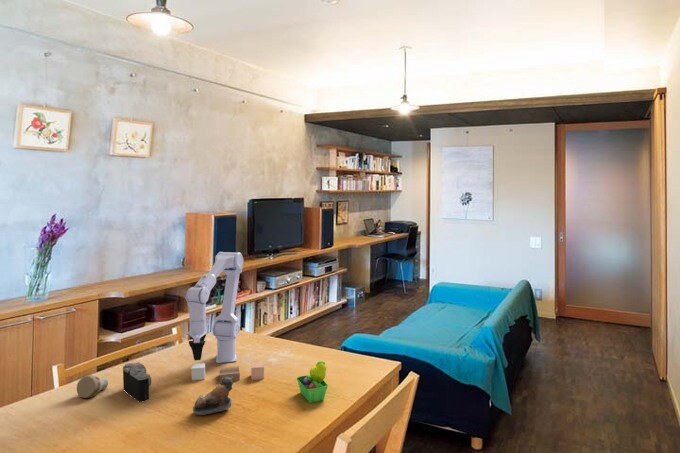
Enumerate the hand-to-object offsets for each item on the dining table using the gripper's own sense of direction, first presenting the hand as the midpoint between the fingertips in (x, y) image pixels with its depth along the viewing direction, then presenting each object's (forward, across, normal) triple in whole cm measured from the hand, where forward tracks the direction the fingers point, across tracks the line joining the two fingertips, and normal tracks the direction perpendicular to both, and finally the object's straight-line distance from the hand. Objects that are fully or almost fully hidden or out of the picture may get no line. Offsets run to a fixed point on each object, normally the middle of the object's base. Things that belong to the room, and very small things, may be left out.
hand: (198, 356), depth 162 cm
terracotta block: (+8, +5, +21) cm, 23 cm away
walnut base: (+8, +3, +11) cm, 14 cm away
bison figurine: (+8, +29, +6) cm, 31 cm away
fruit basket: (+8, +26, +38) cm, 47 cm away
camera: (+8, +9, -18) cm, 22 cm away
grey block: (+8, 0, 0) cm, 8 cm away
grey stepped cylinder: (+8, +5, -33) cm, 35 cm away
